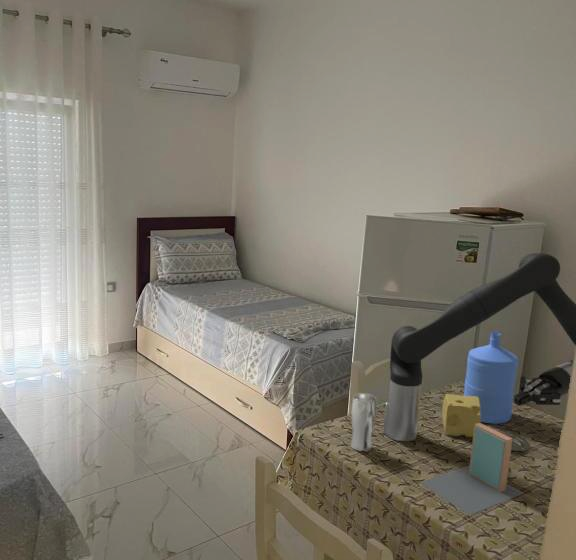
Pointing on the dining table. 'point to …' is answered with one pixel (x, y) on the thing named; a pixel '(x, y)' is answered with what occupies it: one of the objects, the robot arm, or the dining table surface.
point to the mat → (468, 491)
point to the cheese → (460, 414)
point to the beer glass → (362, 420)
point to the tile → (490, 456)
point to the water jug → (492, 380)
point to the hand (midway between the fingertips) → (516, 401)
